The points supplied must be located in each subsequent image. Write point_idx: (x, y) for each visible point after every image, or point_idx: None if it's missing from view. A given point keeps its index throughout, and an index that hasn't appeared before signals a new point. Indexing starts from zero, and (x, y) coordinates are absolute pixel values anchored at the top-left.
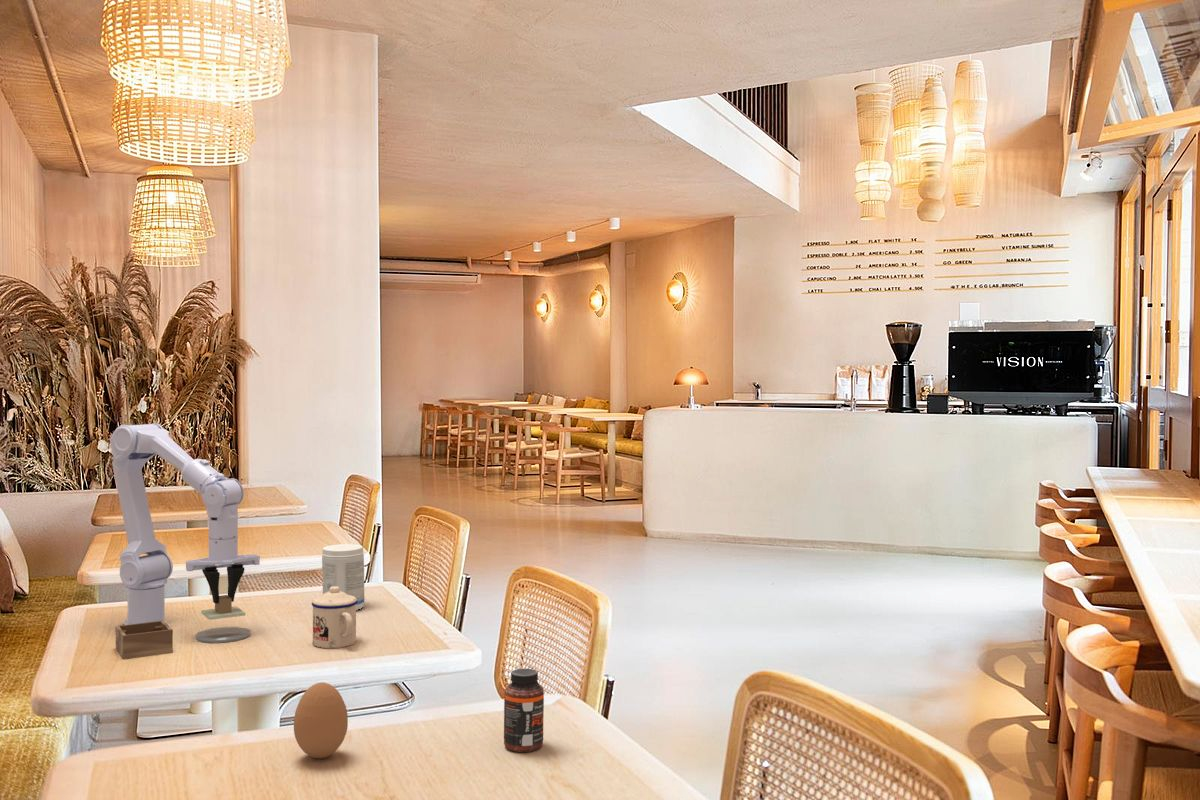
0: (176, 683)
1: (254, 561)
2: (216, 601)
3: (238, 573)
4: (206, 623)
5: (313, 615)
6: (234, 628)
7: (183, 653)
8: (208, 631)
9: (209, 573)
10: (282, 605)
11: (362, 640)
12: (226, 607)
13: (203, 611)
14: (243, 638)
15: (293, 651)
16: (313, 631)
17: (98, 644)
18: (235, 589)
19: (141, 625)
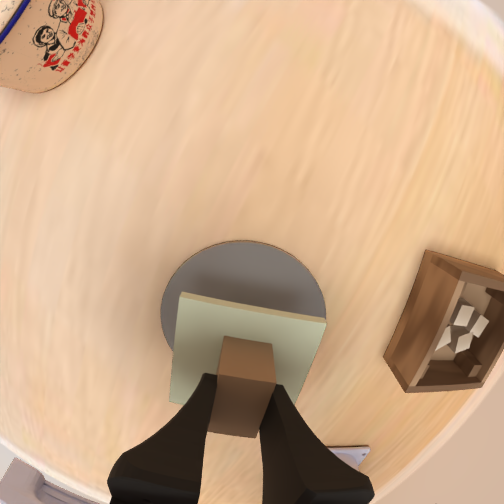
0: (487, 24)
1: (32, 488)
2: (281, 389)
3: (162, 462)
4: (218, 438)
5: (53, 5)
6: None
7: (414, 220)
8: None
9: (371, 488)
10: (52, 431)
11: None
12: (244, 353)
13: None
14: (210, 247)
15: (169, 15)
16: (80, 24)
17: (447, 399)
18: (190, 403)
19: (448, 382)
